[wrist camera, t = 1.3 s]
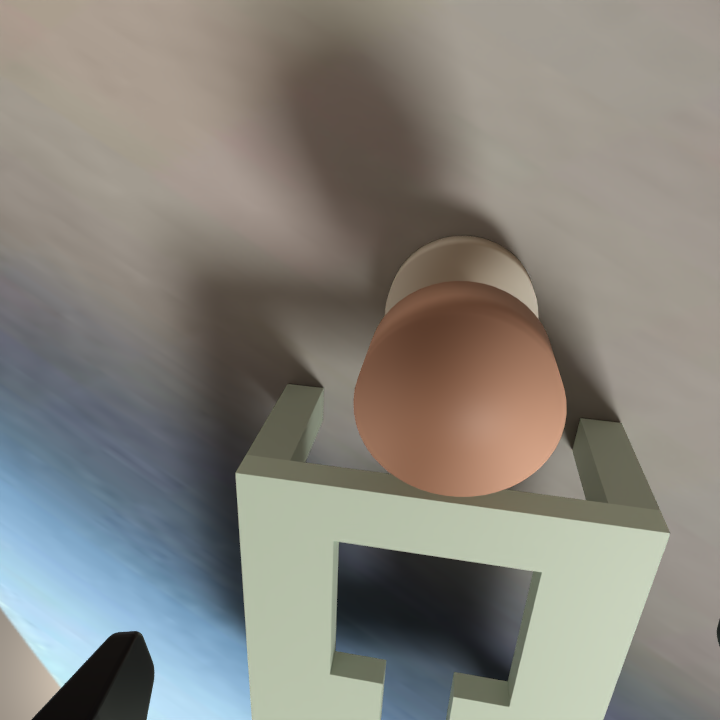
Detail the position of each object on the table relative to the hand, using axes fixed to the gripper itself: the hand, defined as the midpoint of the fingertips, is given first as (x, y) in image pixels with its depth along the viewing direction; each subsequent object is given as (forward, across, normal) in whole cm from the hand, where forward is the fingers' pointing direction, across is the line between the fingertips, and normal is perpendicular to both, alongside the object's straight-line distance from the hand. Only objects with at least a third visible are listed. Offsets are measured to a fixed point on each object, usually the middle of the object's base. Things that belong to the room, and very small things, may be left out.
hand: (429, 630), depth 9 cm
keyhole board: (+13, -1, +13) cm, 19 cm away
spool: (+14, -3, 0) cm, 14 cm away
